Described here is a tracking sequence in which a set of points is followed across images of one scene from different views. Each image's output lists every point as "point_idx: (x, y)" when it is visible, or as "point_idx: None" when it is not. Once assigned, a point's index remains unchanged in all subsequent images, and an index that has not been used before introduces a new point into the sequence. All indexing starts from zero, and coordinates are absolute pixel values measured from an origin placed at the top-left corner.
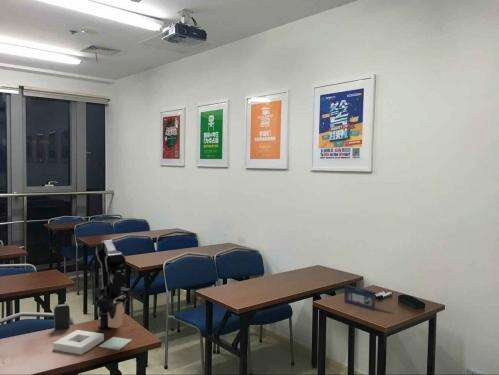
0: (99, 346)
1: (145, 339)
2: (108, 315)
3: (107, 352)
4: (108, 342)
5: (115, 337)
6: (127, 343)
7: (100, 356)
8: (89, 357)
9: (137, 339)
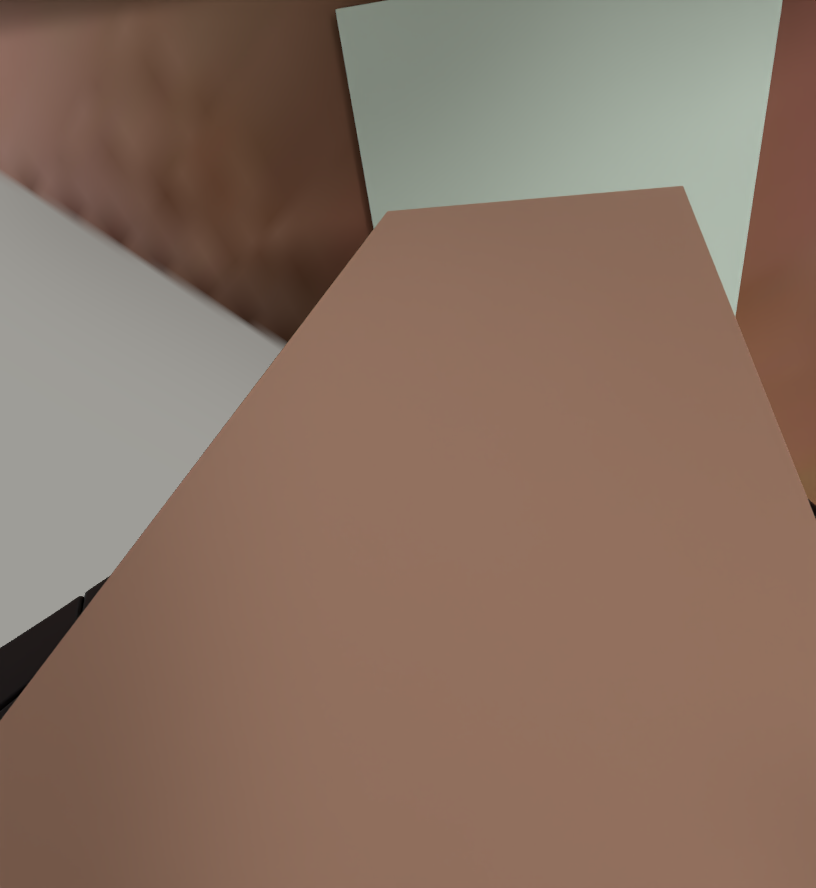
0: (340, 20)
1: (803, 486)
2: (282, 386)
3: (288, 274)
4: (515, 63)
5: (763, 17)
6: None
7: (175, 267)
8: (72, 155)
9: (784, 397)
